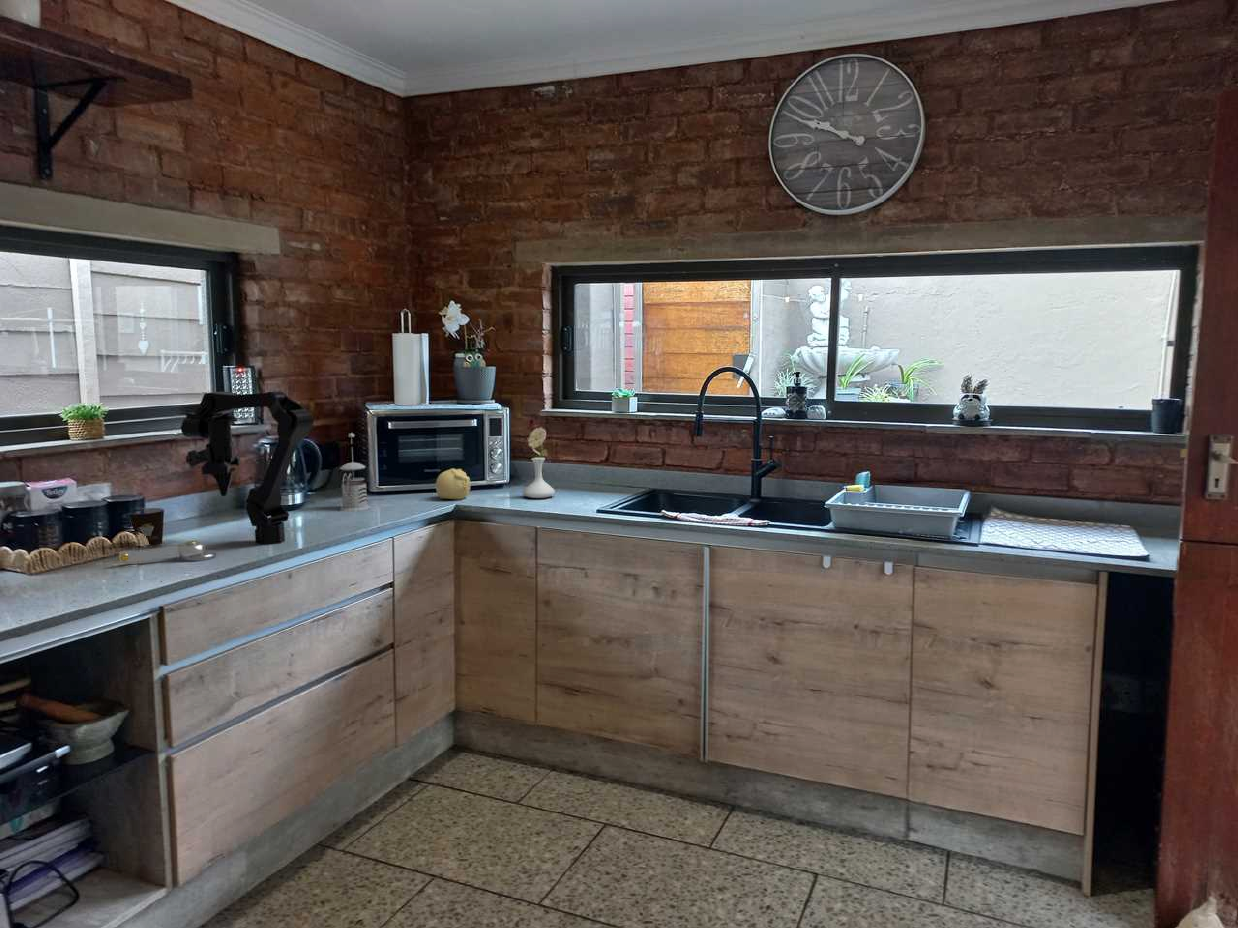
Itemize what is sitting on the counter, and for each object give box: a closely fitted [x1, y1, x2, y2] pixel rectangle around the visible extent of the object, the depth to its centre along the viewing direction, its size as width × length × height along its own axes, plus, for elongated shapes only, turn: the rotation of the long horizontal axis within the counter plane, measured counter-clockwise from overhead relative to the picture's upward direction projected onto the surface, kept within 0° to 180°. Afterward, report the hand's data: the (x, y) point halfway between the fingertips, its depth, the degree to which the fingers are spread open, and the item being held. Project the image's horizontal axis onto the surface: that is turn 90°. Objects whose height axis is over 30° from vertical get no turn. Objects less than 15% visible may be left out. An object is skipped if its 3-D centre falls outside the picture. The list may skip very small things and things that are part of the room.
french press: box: [339, 432, 371, 512], centre depth 284 cm, size 10×12×25 cm
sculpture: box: [435, 467, 472, 500], centre depth 303 cm, size 12×12×11 cm
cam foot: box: [118, 540, 217, 564], centre depth 212 cm, size 21×8×4 cm, turn 120°
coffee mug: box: [130, 507, 165, 547], centre depth 231 cm, size 12×9×10 cm
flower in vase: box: [522, 426, 556, 499], centre depth 303 cm, size 13×11×25 cm
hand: (224, 495), depth 235 cm, fingers closed
